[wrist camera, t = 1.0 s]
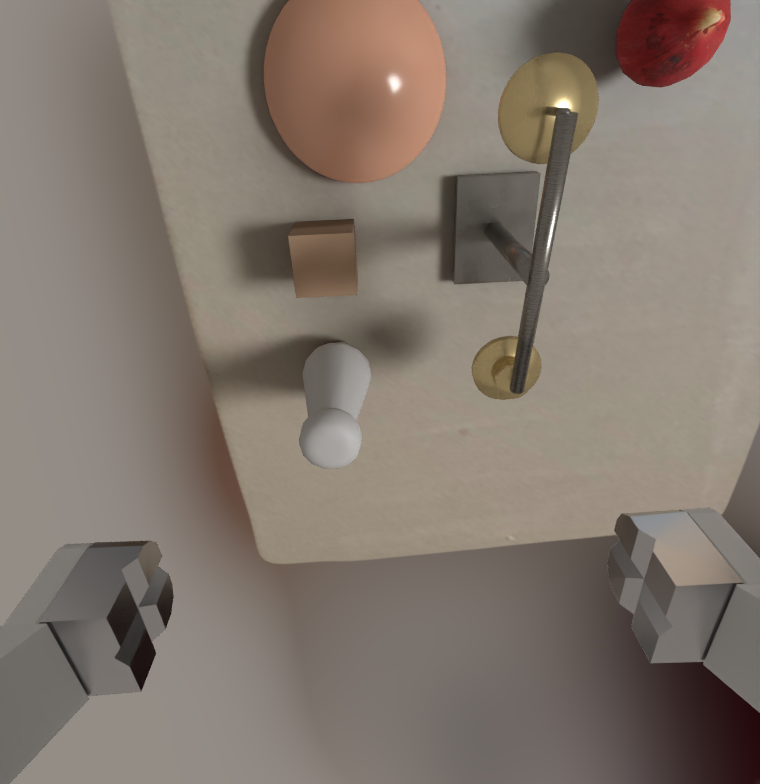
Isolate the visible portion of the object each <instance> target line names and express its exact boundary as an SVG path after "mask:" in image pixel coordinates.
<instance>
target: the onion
mask: <svg viewBox="0 0 760 784" xmlns="http://www.w3.org/2000/svg"><path fill="white" fill-rule="evenodd" d="M730 21H731V13H730V0H631V2H630V3H629V5H628V6H627V8H626V9H625V11H624V12H623V15H622V18H621V21H620V24H619V27H618V30H617V40H616V55H617V58H618V61H619V63H620V66H621V69H622V72H623V73H624V74H625V75H626V76H628V77H629V78H630V79H632V80H633V81H634V82H635V83H637V84H639V85H642V86H651V87H665V86H669V85H672V84H674V83H677V82H679V81H681V80H684V79H686V78H688V77H690V76H691V75H693V74H694V73H695V72H697V71H698V70H699V69H700V68H701V67H703V66H704V65H705V64H706V63H707V62H709V60H710V59H711V58H712V56H713V55H714V53H715V52H716V50H717V49H718V47H719V46H720V44H721V43H722V41H723V39H724V37H725V34H726V31H727V29H728V26H729V23H730Z"/></svg>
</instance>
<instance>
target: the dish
mask: <svg viewBox="0 0 760 784" xmlns="http://www.w3.org/2000/svg"><path fill="white" fill-rule="evenodd" d="M264 87H265V94H266V99H267V104H268V107H269V111H270V114H271V117H272V119H273V121H274V124H275V126H276V128H277V130H278V132H279V134H280V135H281V137H282V139H283V140H284V142H285V143H286V144H287V146H288V147H289V148H290V150H291V151H292V152H293V153H294V154H295V155H296V156H297V157H298V158H299V159H300V160H301V161H302V162H303V163H305V164H306V165H307V166H308V167H310V168H311V169H313V170H315V171H316V172H318V173H320V174H322V175H324V176H326V177H328V178H331V179H335V180H338V181H343V182H349V183H365V182H373V181H376V180H380V179H383V178H386V177H388V176H390V175H393V174H395V173H396V172H398V171H400V170H401V169H403V168H404V167H405V166H407V165H408V164H409V163H411V162H412V161H413V160H414V159H415V158H416V157H417V156H418V155H419V154H420V152H421V151H422V150H423V148H424V147H425V146H426V145H427V143H428V141H429V140H430V138H431V136H432V135H433V133H434V131H435V129H436V126H437V124H438V122H439V119H440V116H441V112H442V109H443V104H444V99H445V92H446V65H445V58H444V52H443V48H442V45H441V41H440V38H439V35H438V33H437V30H436V28H435V26H434V24H433V22H432V20H431V18H430V16H429V15H428V13H427V12H426V10H425V9H424V7H423V6H422V5H421V3H420V2H419V1H418V0H289V1H288V2H287V3H286V5H285V6H284V7H283V9H282V10H281V12H280V14H279V16H278V17H277V19H276V21H275V23H274V26H273V28H272V30H271V33H270V36H269V40H268V43H267V47H266V53H265V60H264Z"/></svg>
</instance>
